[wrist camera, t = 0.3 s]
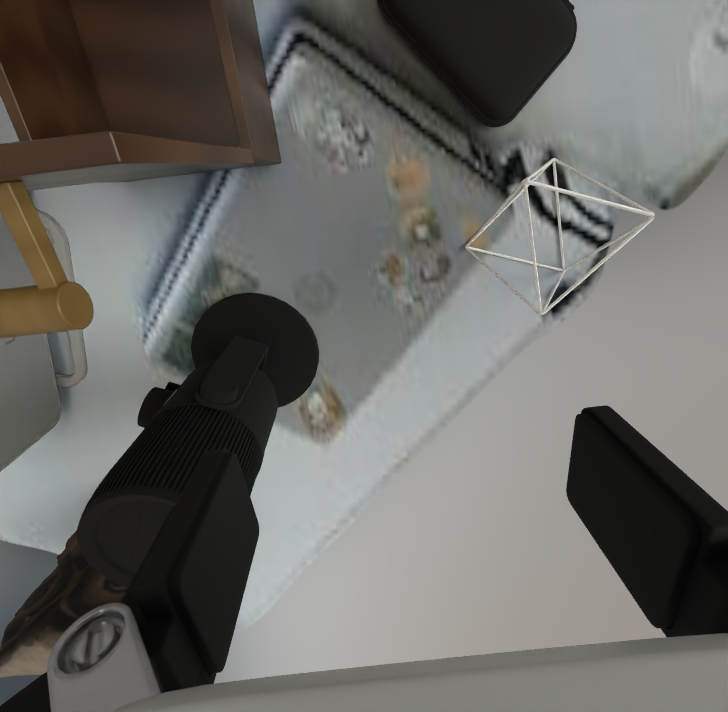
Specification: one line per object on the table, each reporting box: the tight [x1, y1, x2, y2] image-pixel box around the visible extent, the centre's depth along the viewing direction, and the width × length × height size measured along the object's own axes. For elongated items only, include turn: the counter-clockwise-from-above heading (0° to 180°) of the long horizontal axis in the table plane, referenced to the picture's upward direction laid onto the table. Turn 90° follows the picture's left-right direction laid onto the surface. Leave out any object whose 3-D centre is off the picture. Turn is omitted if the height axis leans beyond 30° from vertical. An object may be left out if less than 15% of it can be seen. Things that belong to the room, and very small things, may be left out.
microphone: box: [77, 293, 319, 588], centre depth 32 cm, size 14×14×25 cm
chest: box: [0, 0, 281, 182], centre depth 27 cm, size 16×15×11 cm
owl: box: [0, 531, 128, 677], centre depth 42 cm, size 13×13×20 cm
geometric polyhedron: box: [465, 158, 654, 315], centre depth 34 cm, size 12×11×9 cm
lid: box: [0, 131, 254, 339], centre depth 19 cm, size 16×15×6 cm
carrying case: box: [378, 0, 577, 127], centre depth 30 cm, size 11×3×15 cm
